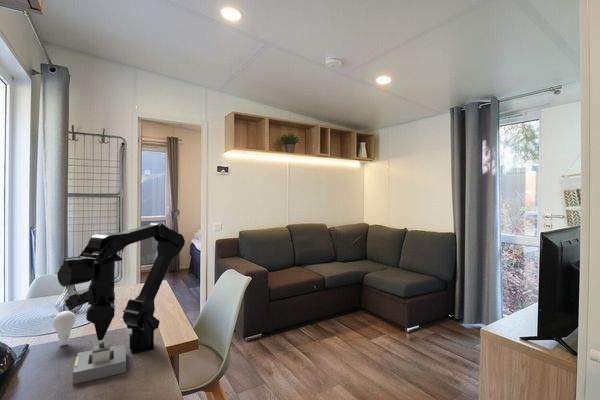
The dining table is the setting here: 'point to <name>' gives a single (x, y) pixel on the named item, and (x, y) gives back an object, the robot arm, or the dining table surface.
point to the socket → (99, 365)
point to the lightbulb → (64, 325)
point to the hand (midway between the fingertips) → (101, 334)
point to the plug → (101, 352)
